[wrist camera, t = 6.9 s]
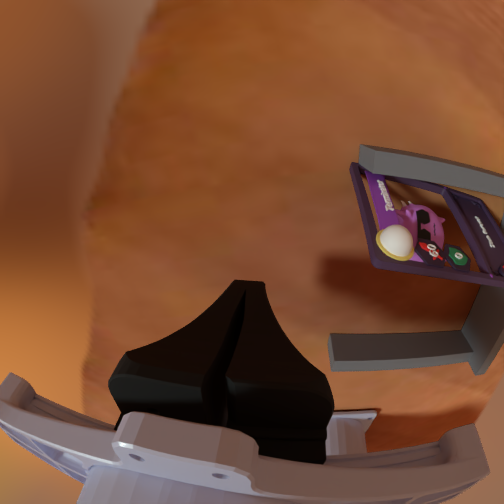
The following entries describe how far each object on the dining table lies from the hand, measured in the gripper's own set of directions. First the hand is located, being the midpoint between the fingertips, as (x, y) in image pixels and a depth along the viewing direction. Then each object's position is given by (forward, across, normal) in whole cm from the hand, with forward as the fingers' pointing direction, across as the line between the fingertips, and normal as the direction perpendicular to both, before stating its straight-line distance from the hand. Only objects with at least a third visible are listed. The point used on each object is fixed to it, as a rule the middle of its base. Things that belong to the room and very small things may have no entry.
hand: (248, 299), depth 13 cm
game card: (+4, -9, -3) cm, 10 cm away
